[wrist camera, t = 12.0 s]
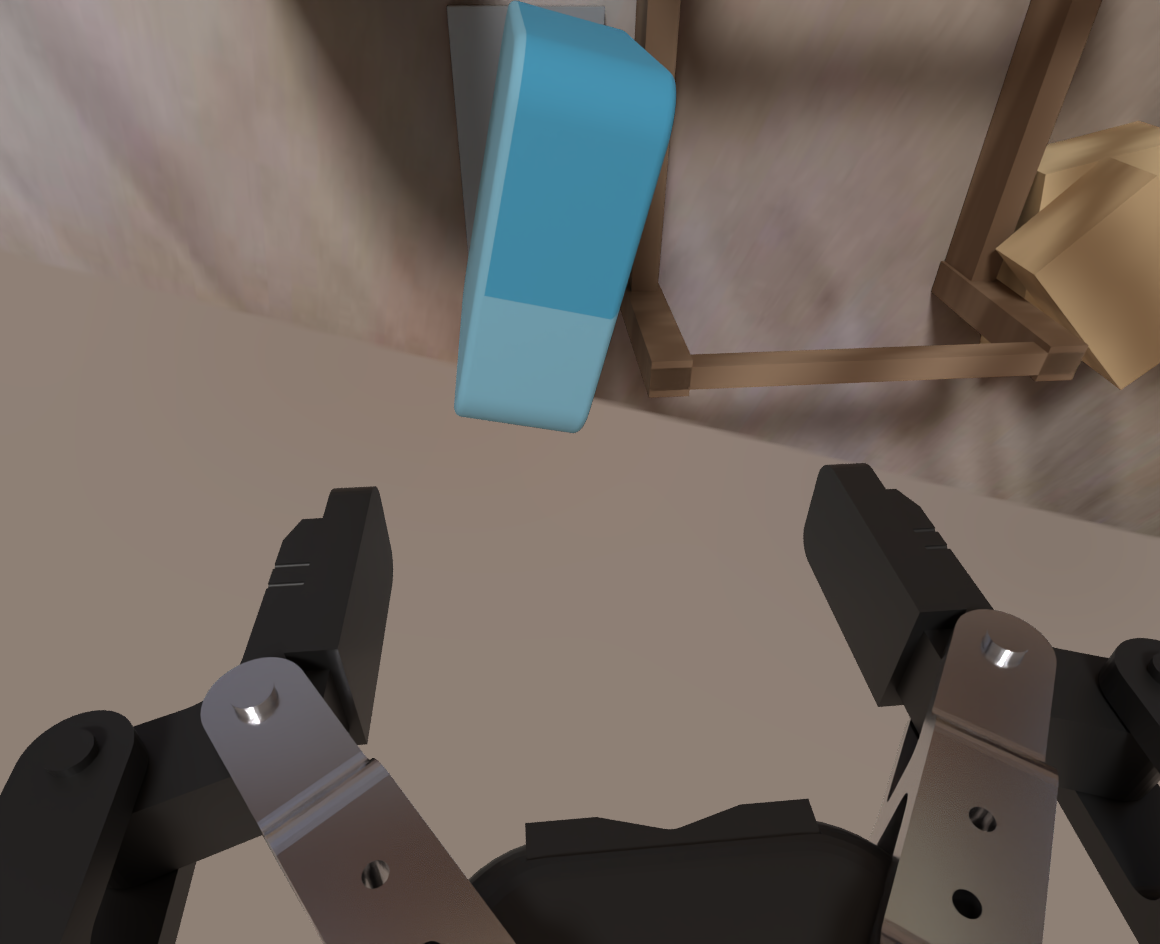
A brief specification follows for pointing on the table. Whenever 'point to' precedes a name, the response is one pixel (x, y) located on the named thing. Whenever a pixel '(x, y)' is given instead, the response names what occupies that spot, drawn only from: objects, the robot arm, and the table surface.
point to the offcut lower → (1082, 173)
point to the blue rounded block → (557, 215)
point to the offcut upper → (1098, 266)
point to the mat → (482, 82)
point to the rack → (962, 279)
